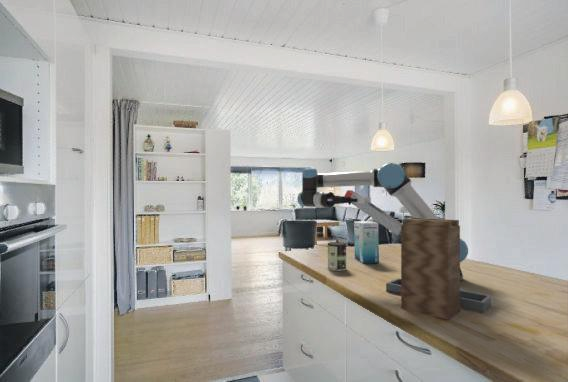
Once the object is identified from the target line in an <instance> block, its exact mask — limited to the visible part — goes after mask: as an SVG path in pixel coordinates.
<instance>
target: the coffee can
mask: <svg viewBox="0 0 568 382" xmlns="http://www.w3.org/2000/svg"><path fill="white" fill-rule="evenodd" d="M327 269H328V270H329V271H333V272H334V271H335V272H336V271H337V272H343V271H346V270H347V243H346V242H342V241H330V242H327Z"/></svg>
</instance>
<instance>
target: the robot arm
mask: <svg viewBox="0 0 568 382" xmlns="http://www.w3.org/2000/svg"><path fill="white" fill-rule="evenodd" d="M301 178H302V179H301V181H302V182H301V183H302V184H301V186H302V188H301V190H302V191H301V192H299V193H298V194H297V199H296V200H297V204H299V205H300V206H301V207H308V208H310V207H311V208H319V209H321V208H333V207H334V205H340V204H341V205H342V204H348V205H349V206H350V205H351V204H352V203H360V204H365V199H366V200H367V201H369V202H370V203H372V201H371V200H372V199H371V197H370V196H368V197H367V196H366V197H365V196H364V197H363V196H361V197H351V198H350V197H349V198H348V197H344V196H345V195H342V196H341V195H335V193H333V192H332V191H318V188H337V187H358V186H359V187H361V186H363V187H365V186H372V187H373V188H384V189H385V191H386V192H387V193H388V195H389V196H390V197H395V198H396V199H397V200H398V201H399V203H400V204H401V205H402V206H403V207H404V209H405V210H406V211H407V212H408V214H410V216H411V218H428V219H440V218H439V217H438V216H437V215H436V214H435V213H434V211H433V210H432V209H431V208H430V207H429V205H428V204H427V203H426V202H425V201H424V199H423V197H421V195H419V193H418V192H417V191H416V190H415V188H414V187H413V186H412V180H411V178H409V176H408V175H407V174H406V173H405V170H404V169H403V167H402V166H401V165H400V164H398V163H394V162H388V163H384V164H383V165H382V166H381V167H379V168H372V170H364V171H363V170H362V171H347V172H346V171H345V172H344V171H343V172H330V173H329V172H328V173H318V170H317V168H313V167H312V168H308V167H307V168H303V169H302V174H301ZM468 254H469V248H468V244H467V243H466V241H465V240H463V239H462V238H460V263H462V262H463V261H465V260H466V259H467V257H468ZM461 268H462V267H460V282H463V281H464V275H463V271H462V269H461Z"/></svg>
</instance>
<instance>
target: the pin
mask: <svg viewBox="0 0 568 382" xmlns="http://www.w3.org/2000/svg"><path fill="white" fill-rule="evenodd" d="M343 196H344V197H348V198H349V197H350V198H351V197H362V196H361V195H360V194H359V193H357V192H355V191H354V190H351V189H349V190H348V189H347V190H346V192H345V194H344V195H343ZM351 204H352V205H353V206H355V207H356V208H357V209H359V210H360V211H362V212H363V213H365V214H366V215H367V216H368V217H370V218H372V219H373V220H374V221H376V223H378V224H380V225H382V226H383V227H385V228H386V229H387V230H388V231H390V232H392V233H393V234H395V236H397V237H398V236H399V237H400V236H401V225H403V222H400V221H399V220H397V219H396V218H394V217H393V216H391V215H390V214H388V213H386V212H385V211H384V210H383V209H381V208H380V207H378V206H377V205H375V204H373V203H372V202H371V203H370V202H369V201H367V200H366V199H365V204H360V203H351Z"/></svg>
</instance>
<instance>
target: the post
mask: <svg viewBox="0 0 568 382" xmlns="http://www.w3.org/2000/svg"><path fill="white" fill-rule="evenodd" d="M402 224H403V225H401V235H400V239H401V240H400V245H401V246H400V247H401V248H400V249H401V250H400V251H401V252H400V253H401V255H400V256H401V260H400V267H401V268H400V277H401V278H400V279H401V297H400V298H401V299H400V305H401V307H400V309H403V310H408V311H412V312H416V313H419V314H423V315H427V316H432V317H435V318H439V319H443V320H447V321H449V320H450V319H452V318H453V317H454V316H456V315H457V314H458V313H459V312H460V311H461V308H460V290H461V281H460V268H461V262H460V239H461V225H460V220H459V219H444V218H443V219H442V218H439V219H428V218H413V217H411V218H402Z"/></svg>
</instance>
